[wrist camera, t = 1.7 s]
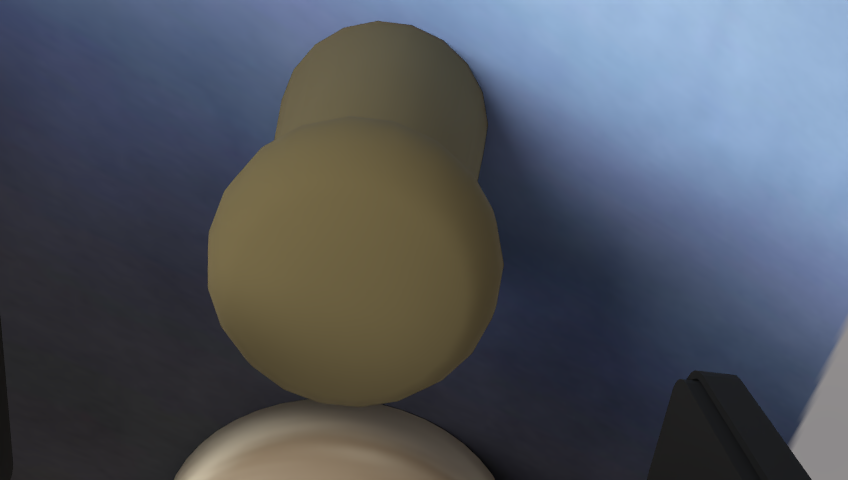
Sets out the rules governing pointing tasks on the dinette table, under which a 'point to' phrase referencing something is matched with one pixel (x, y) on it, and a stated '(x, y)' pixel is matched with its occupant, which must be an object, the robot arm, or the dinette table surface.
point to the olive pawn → (362, 224)
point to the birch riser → (332, 447)
